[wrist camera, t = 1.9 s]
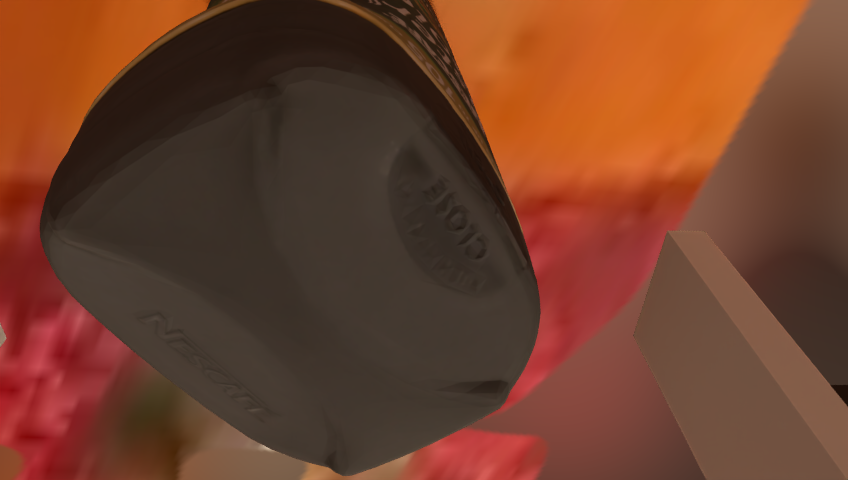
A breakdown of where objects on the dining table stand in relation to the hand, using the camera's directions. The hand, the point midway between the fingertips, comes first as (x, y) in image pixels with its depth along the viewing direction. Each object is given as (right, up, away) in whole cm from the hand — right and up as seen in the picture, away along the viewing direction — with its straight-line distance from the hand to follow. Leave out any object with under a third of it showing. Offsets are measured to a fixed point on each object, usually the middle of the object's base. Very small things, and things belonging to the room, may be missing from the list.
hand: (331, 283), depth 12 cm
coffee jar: (-2, +9, +14) cm, 17 cm away
